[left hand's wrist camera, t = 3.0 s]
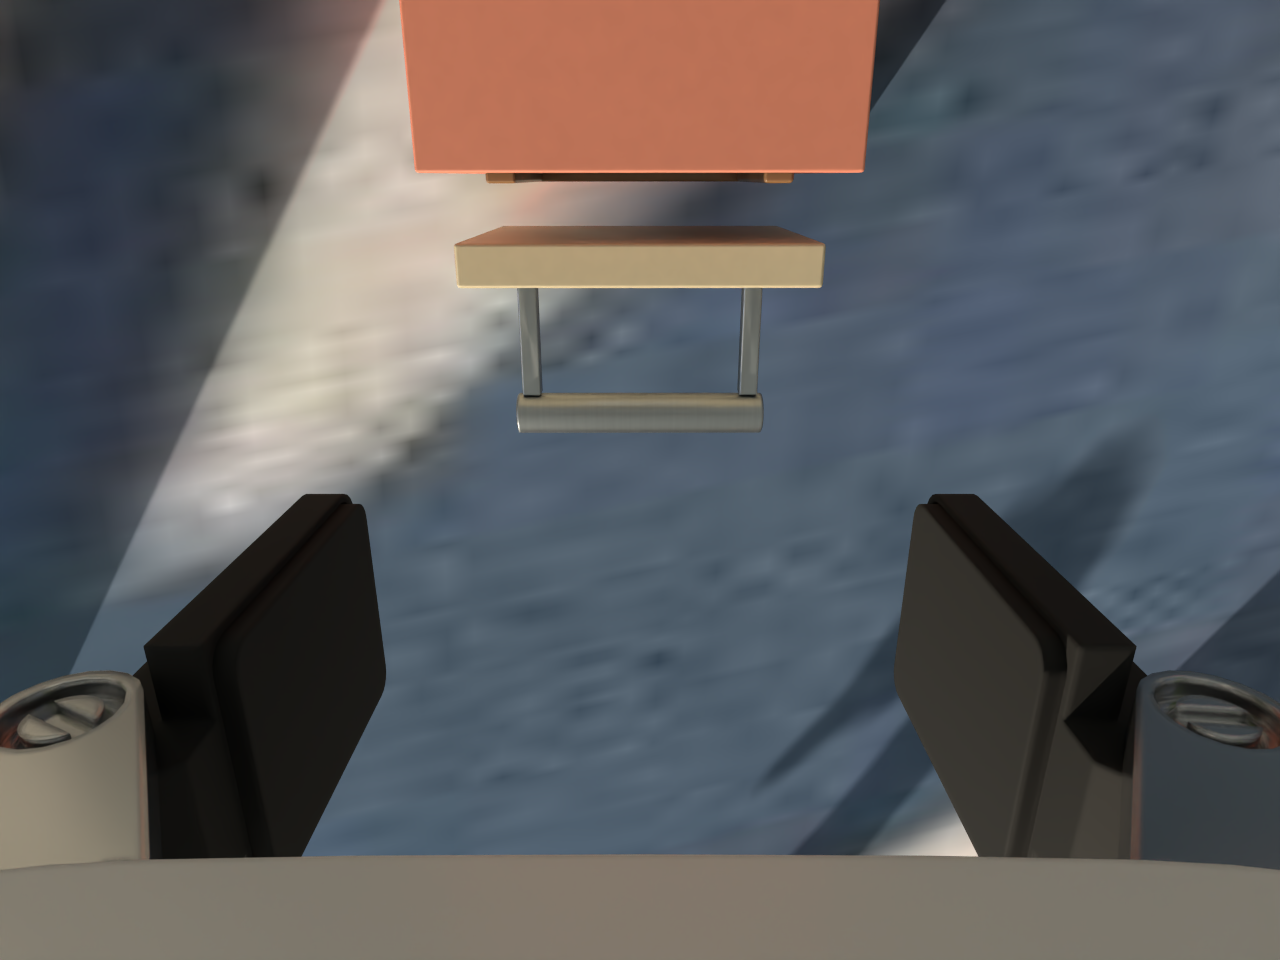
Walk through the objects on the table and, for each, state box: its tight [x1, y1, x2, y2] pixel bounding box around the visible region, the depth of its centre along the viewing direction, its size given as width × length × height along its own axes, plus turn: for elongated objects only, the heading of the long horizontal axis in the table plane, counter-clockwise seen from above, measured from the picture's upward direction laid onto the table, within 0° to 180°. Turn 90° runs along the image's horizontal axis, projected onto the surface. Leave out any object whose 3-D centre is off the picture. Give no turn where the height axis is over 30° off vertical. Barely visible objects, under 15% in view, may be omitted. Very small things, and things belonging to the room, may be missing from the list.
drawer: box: [454, 173, 826, 433], centre depth 24 cm, size 24×10×8 cm, turn 0°
